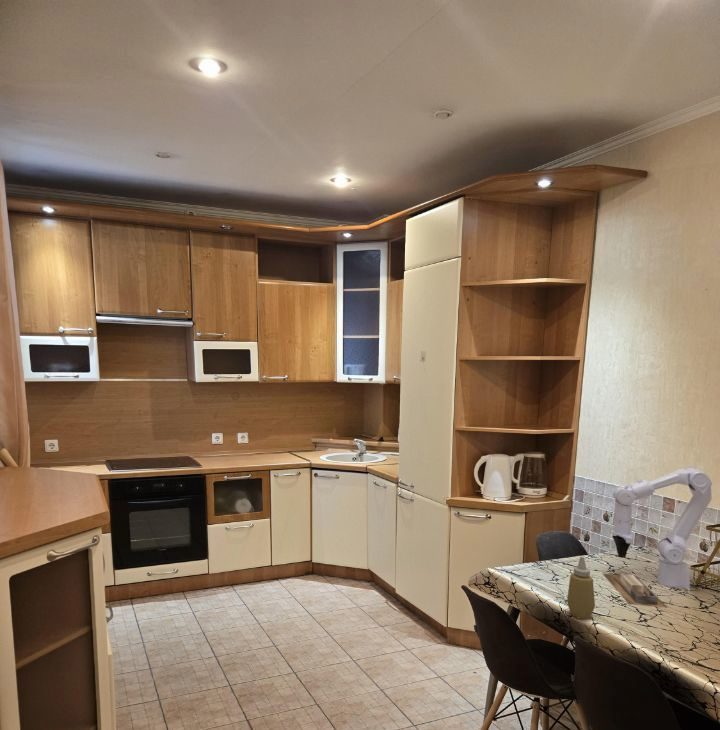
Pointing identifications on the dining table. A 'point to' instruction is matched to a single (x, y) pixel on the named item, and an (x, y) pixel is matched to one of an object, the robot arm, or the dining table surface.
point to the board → (632, 597)
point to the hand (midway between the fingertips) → (621, 556)
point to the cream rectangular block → (632, 584)
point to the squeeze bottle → (581, 592)
